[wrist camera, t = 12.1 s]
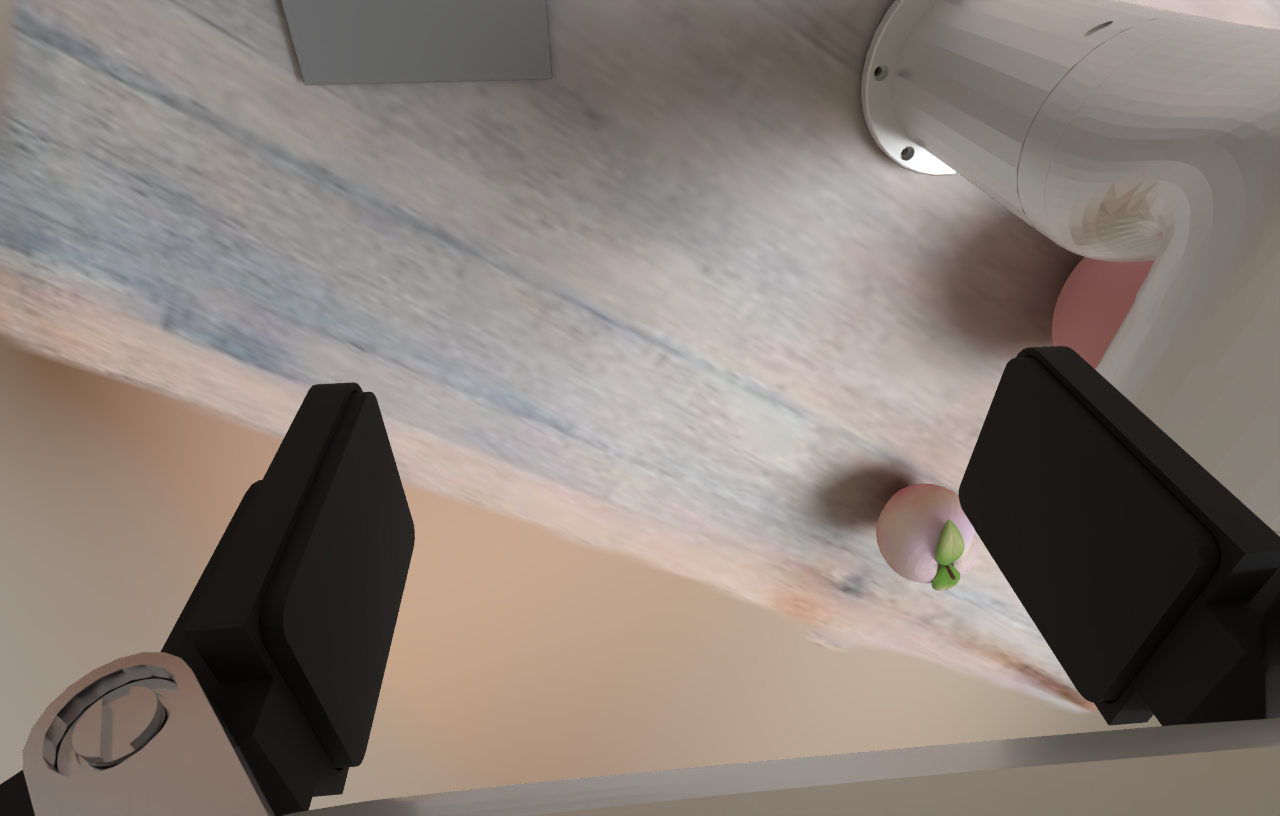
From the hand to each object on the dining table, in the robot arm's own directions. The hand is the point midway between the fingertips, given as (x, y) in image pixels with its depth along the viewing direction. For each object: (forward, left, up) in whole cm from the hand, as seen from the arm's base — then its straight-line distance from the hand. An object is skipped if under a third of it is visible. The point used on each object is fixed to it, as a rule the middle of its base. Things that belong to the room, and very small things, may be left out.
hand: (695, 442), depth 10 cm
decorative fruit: (-27, +39, -36) cm, 60 cm away
